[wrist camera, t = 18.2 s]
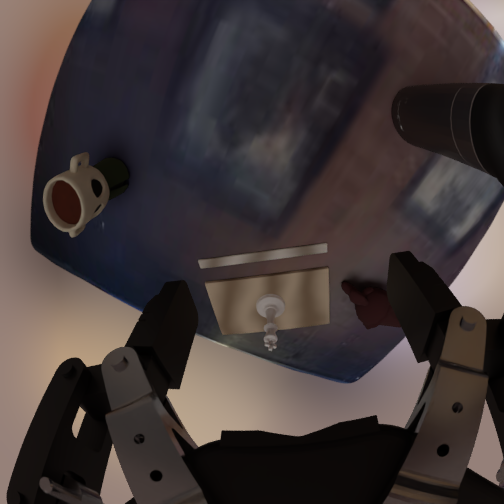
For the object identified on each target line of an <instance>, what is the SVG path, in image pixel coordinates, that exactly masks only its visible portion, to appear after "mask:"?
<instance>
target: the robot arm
mask: <svg viewBox="0 0 504 504" xmlns="http://www.w3.org/2000/svg"><path fill="white" fill-rule="evenodd" d="M392 118H393V122H394V125H395V128H396V130H397V131H398V133H399V134H400V136H401V137H402V138H403V139H404V140H405V141H407V142H408V143H410V144H412V145H414V146H417V147H420V148H423V149H426V150H429V151H432V152H435V153H438V154H440V155H443V156H446V157H448V158H451V159H454V160H456V161H459V162H461V163H464V164H466V165H469V166H471V167H473V168H476V169H478V170H481V171H483V172H485V173H487V174H489V175H491V176H493V177H496V178H497V179H498V180H499V182H500V183H501V184H502V185H503V186H504V84H493V83H491V84H490V83H450V84H431V85H417V86H409V87H406V88H404V89H402V90H401V91H400V92H398V94H397V95H396V97H395V99H394V101H393V106H392ZM387 297H388V300H389V303H390V305H391V307H392V309H393V311H394V313H395V315H396V317H397V319H398V321H399V323H400V325H401V327H402V329H403V331H404V333H405V335H406V338H407V339H408V342H409V344H410V346H411V348H412V351H413V353H414V355H415V358H416V360H417V362H418V363H420V362H424V361H427V360H429V363H430V368H429V370H428V373H427V375H426V378H425V381H424V384H423V387H422V390H421V392H420V395H419V398H418V400H417V403H416V406H415V408H414V410H413V412H412V414H411V416H410V418H409V420H408V422H407V424H406V426H405V428H401V427H398V426H393V425H387V424H378V419H377V416H376V415H375V416H370V417H366V418H361V419H356V420H351V421H345V422H339V423H337V424H334V425H332V426H330V427H327V428H324V429H322V430H319V431H316V432H313V433H310V434H307V435H304V436H289V435H282V434H276V433H270V432H265V431H259V430H257V431H222V432H221V440H217V441H213V442H210V443H207V444H205V445H202V446H200V447H198V446H197V445H196V443H195V442H194V441H193V440H192V438H191V437H190V435H189V434H188V432H187V431H186V429H185V427H184V426H183V424H182V422H181V420H180V419H179V417H178V415H177V413H176V412H175V410H174V408H173V406H172V404H171V402H170V400H169V398H168V397H167V396H166V395H167V391H168V389H180V385H181V382H182V378H183V375H184V371H185V367H186V364H187V360H188V357H189V353H190V349H191V346H192V343H193V340H194V336H195V333H196V329H197V326H198V312H197V309H196V306H195V304H194V301H193V299H192V296H191V293H190V291H189V288H188V285H187V283H186V282H185V281H184V280H180V281H171V282H166V283H165V284H164V286H163V288H162V289H161V291H160V293H159V295H155V296H154V297H153V298H152V299H151V300H150V301H149V302H148V303H147V305H146V307H145V308H144V310H143V312H142V313H143V314H141V316H140V318H139V322H137V323H136V325H135V327H134V329H133V331H132V333H131V335H130V337H129V339H128V341H127V343H126V345H125V347H120V348H117V349H115V350H113V351H112V352H110V353H109V354H108V355H107V356H106V357H105V358H104V360H103V362H102V364H99V365H95V366H90V367H86V365H85V364H84V363H83V362H82V360H81V359H79V358H70V359H67V360H66V361H64V362H63V363H62V364H61V365H60V366H59V367H58V369H57V370H56V372H55V374H54V376H53V378H52V380H51V382H50V384H49V386H48V388H47V390H46V392H45V394H44V396H43V398H42V400H41V402H40V404H39V406H38V409H37V411H36V413H35V415H34V418H33V420H32V422H31V424H30V427H29V429H28V431H27V434H26V436H25V439H24V442H23V444H22V447H21V449H20V452H19V455H18V458H17V461H16V464H15V467H14V470H13V473H12V476H11V479H10V483H9V486H8V490H7V504H103V502H102V499H101V497H100V492H101V488H102V483H103V479H104V475H105V471H106V467H107V463H108V458H109V455H110V451H111V448H112V444H114V448H115V451H116V454H117V456H118V459H119V462H120V465H121V467H122V470H123V473H124V475H125V477H126V479H127V482H128V485H129V487H130V489H131V492H132V494H133V496H134V497H133V498H132V499H131V500H129V501H128V502H126V503H125V504H504V459H503V461H502V464H501V467H500V469H499V470H498V472H497V475H496V479H497V481H498V482H500V483H499V486H498V485H496V484H494V483H493V482H491V481H489V480H487V479H486V478H484V477H482V476H480V475H479V474H477V473H475V472H474V471H472V470H471V469H469V468H467V465H468V463H469V460H470V457H471V454H472V451H473V447H474V444H475V440H476V437H477V433H478V430H479V426H480V422H481V418H482V413H483V408H484V404H485V399H486V401H487V404H488V407H489V410H490V413H491V415H492V418H493V421H494V424H495V428H496V431H497V434H498V438H499V442H500V445H501V449H502V453H503V458H504V314H503V316H502V319H487V320H486V319H485V317H484V316H483V315H482V314H481V313H480V312H479V311H478V310H476V309H474V308H472V307H467V306H462V305H461V304H460V303H459V301H458V300H457V299H456V297H455V296H454V295H453V293H452V292H451V291H450V289H449V288H448V287H447V285H446V284H444V282H443V280H442V279H441V278H440V277H439V275H438V274H437V273H436V272H435V270H434V269H433V268H432V267H430V266H429V265H427V264H425V263H424V262H419V261H418V260H417V259H416V258H415V256H414V255H413V254H412V253H411V252H410V251H404V252H398V253H392V254H391V255H390V260H389V270H388V280H387ZM79 407H81V408H82V409H83V410H84V411H85V412H86V414H85V416H84V419H83V422H82V424H81V427H80V430H79V433H78V436H77V438H75V437H74V435H73V432H72V425H73V422H74V419H75V417H76V414H77V411H78V409H79Z"/></svg>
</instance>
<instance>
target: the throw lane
mask: <svg viewBox="0 0 504 504" xmlns="http://www.w3.org/2000/svg"><path fill="white" fill-rule="evenodd" d="M325 252H327V243H320V244H312V245H305V246H297V247H290V248H282V249H275V250H267V251H260V252H252V253H245V254H237V255H230V256H222V257H215V258H207V259H200V260H198V261H199V265H200V268H201V269H202V268H210V267H218V266H226V265H234V264H242V263H250V262H257V261H265V260H273V259H280V258H288V257H296V256H303V255H311V254H318V253H325ZM205 285H206V289H207V292H208V295H209V297H210V300H211V303H212V306H213V309H214V312H215V315H216V318H217V321H218V324H219V326H220V329H221V332H222V335H226V334H240V333H252V332H263V331H264V326H265V325H266V324H267V318H265V317H263V316H261V315H260V314H259V313H258V311H257V308H256V303H257V300H258V299H259V298H260V297H262V296H263V295H266V294H275V295H278V296H280V297H281V298H283V300H284V301H285V310H284V312H283V313H282V314H281V315H280V316H278V317H276V318H275V320H274V324H276V325H277V327H278V329H277V330H283V329H291V328H300V327H307V326H315V325H322V324H329V269H328V266H327V267H320V268H313V269H305V270H298V271H290V272H282V273H274V274H266V275H258V276H250V277H242V278H233V279H224V280H216V281H207V282H205Z"/></svg>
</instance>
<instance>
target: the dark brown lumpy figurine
mask: <svg viewBox="0 0 504 504" xmlns="http://www.w3.org/2000/svg"><path fill="white" fill-rule="evenodd" d="M341 287H342V289H343V291H344V292H345V293H346V294H348V295H349V298H350V301H352V302H353V303H354V304H355V309H356V313H357V316H358V318H359V319H360V320H361V321H362V322H363V325H364V326H365V327H366V328H367V329H370V328H374V327H377V326H378V325H385V326H393V327H401V325H400V323H399V321H398V319H397V317H396V315H395V313H394V311H393V309H392V307H391V305H390V303H389V300H388V297H387V291H385V290H383V289H378V288H377V287H374V288H372V287H367V288H365V289H364V290H363V291H362V292H360V291H359V290H358V289H356V288H355V287H354V286H353V285H351V284H349V283H348V282H345V281H344V282H343V283H342V285H341Z"/></svg>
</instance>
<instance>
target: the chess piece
mask: <svg viewBox="0 0 504 504" xmlns="http://www.w3.org/2000/svg"><path fill="white" fill-rule="evenodd" d="M256 308H257V311H258V313H259V314H260V315H261V316H263V317H265V318H267V324H266V325H265V326H264V331H265V332H266V335H265V337H264V341H265V346H267V347H269V350H270V351H272V349H273V348H276V347H277V345H276V344H273V343H275V342H277V336H276V334H275V332H276V331H277V329H278V327H277V325H276V324H274V320H275V318H276V317H278V316H280V315H281V314H282V313H283V312H284V310H285V301H284V300H283V298H281V297H280V296H278V295H275V294H266V295H263V296H262V297H260V298H259V299H258V300H257V303H256Z"/></svg>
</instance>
